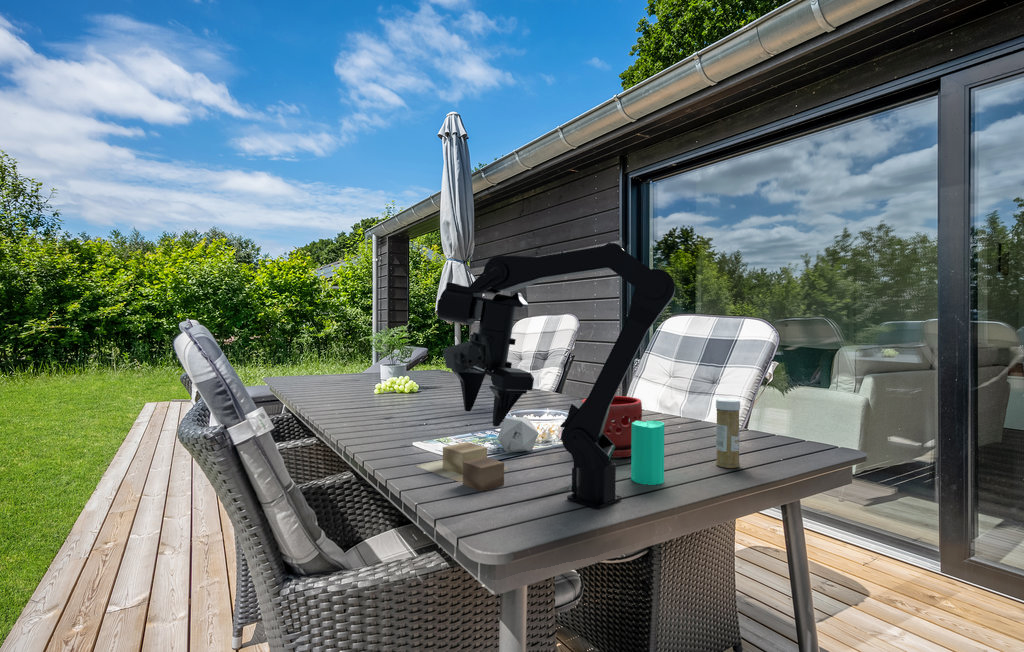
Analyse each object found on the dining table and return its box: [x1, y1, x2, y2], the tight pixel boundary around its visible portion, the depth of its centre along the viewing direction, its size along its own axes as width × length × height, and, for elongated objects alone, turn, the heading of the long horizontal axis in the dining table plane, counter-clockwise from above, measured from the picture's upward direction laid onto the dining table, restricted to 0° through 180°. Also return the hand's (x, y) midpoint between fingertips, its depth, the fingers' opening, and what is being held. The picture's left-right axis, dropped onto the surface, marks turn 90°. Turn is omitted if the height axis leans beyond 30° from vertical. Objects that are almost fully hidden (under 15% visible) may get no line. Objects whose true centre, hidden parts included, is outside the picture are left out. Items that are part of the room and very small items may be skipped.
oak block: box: [442, 441, 488, 475], centre depth 101 cm, size 6×6×4 cm
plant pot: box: [581, 395, 643, 459], centre depth 117 cm, size 13×13×12 cm
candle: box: [630, 420, 665, 486], centre depth 98 cm, size 6×6×12 cm
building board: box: [415, 458, 510, 483], centre depth 102 cm, size 14×12×1 cm
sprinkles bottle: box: [715, 397, 741, 469], centre depth 107 cm, size 5×5×14 cm
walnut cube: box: [462, 456, 505, 492], centre depth 91 cm, size 5×5×5 cm
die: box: [497, 416, 540, 453], centre depth 116 cm, size 8×9×10 cm
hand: (481, 418), depth 92 cm, fingers open, 9 cm apart
